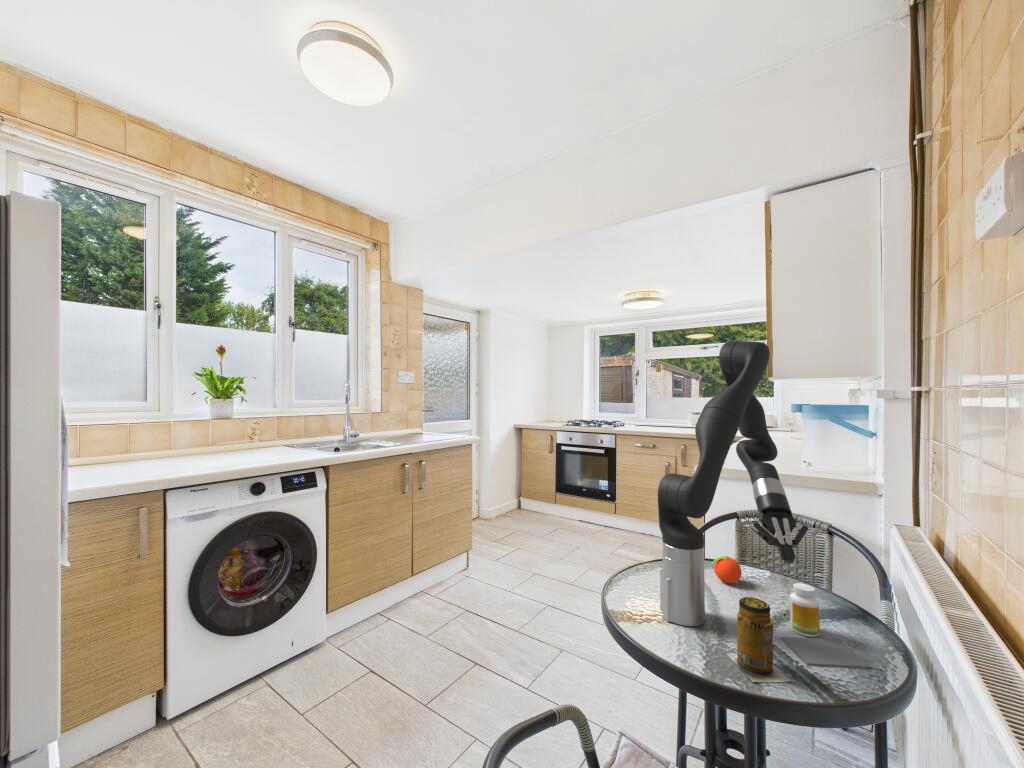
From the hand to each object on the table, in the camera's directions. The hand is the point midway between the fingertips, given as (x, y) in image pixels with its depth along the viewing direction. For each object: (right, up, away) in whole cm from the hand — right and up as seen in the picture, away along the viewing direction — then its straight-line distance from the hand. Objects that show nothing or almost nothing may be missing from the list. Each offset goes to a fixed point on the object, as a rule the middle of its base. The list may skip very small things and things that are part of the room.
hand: (789, 561), depth 102 cm
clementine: (-7, -13, +16) cm, 22 cm away
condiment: (-20, -12, -21) cm, 32 cm away
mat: (-4, -12, -16) cm, 20 cm away
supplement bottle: (-2, -12, -9) cm, 15 cm away
